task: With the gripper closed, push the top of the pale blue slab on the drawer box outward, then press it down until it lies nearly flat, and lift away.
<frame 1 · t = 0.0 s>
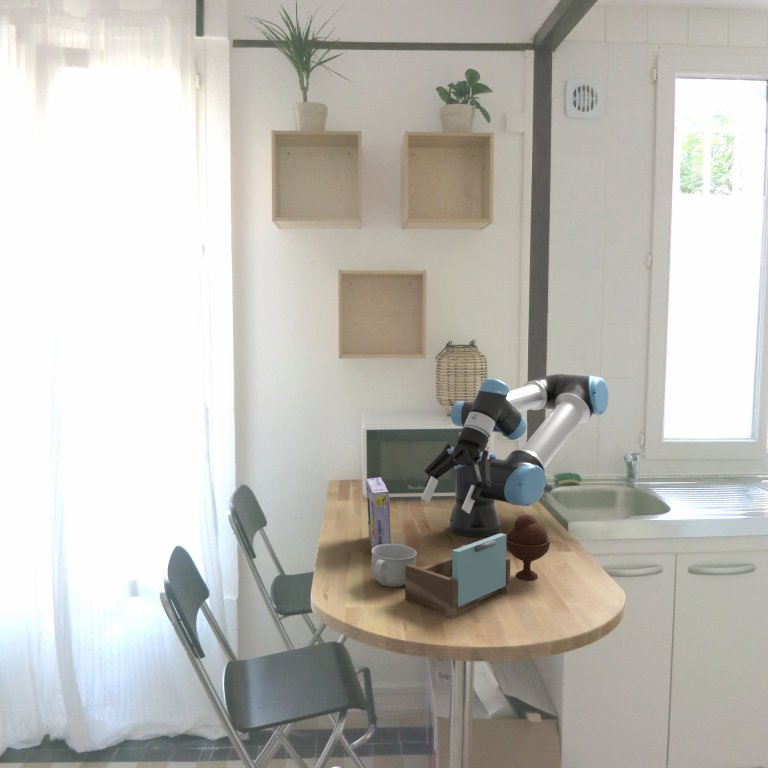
hand: (444, 506, 182), 15 cm above the counter, tool tilted 35°, fingers open, 13 cm apart
drawer box: (454, 594, 164), on the counter
cake pan box: (378, 547, 198), on the counter
pale blue slab: (482, 569, 157), point 8 cm above the counter, hinge at 0.0°
teacup: (390, 585, 170), on the counter
ice cream bowl: (526, 577, 174), on the counter
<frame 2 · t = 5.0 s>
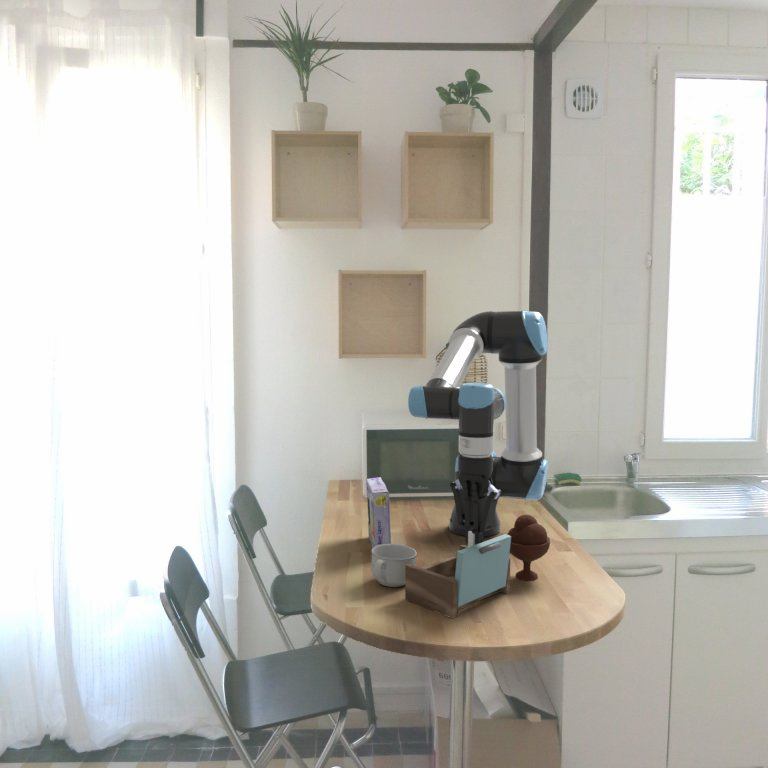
hand: (474, 559, 158), 10 cm above the counter, tool pointing down, fingers closed
pale blue slab: (484, 570, 157), point 8 cm above the counter, hinge at 6.5°, touching gripper
everything else where it was.
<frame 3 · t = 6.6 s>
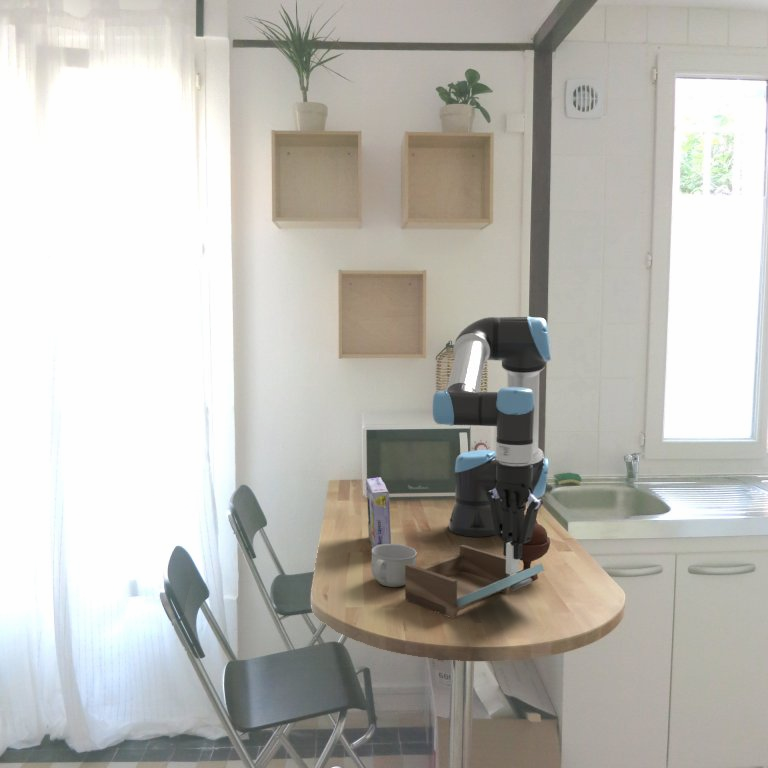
hand: (512, 572, 151), 10 cm above the counter, tool pointing down, fingers closed
pale blue slab: (501, 587, 154), point 5 cm above the counter, hinge at 58.1°, touching gripper
everything else where it was.
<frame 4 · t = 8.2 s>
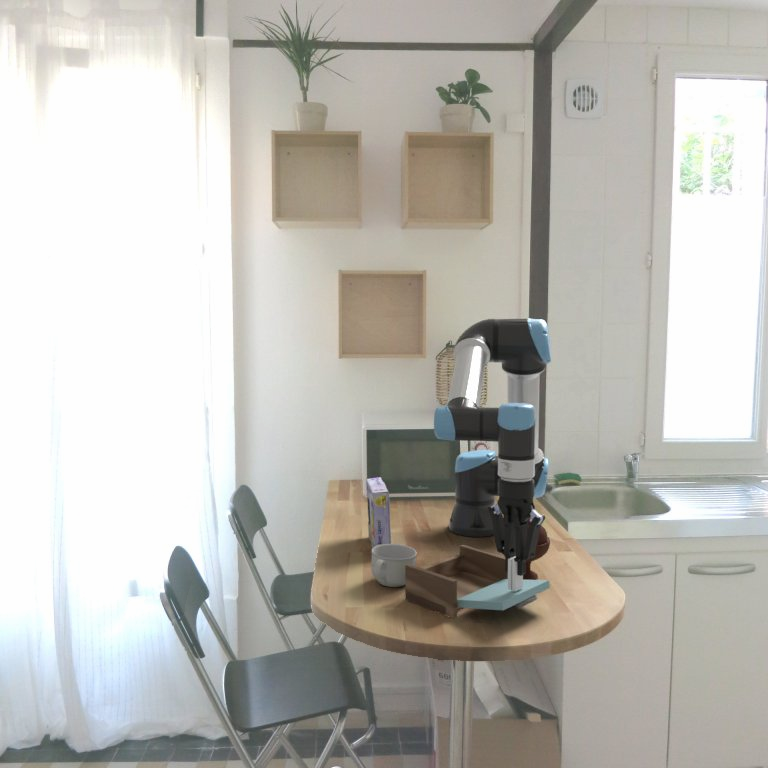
hand: (515, 588, 151), 6 cm above the counter, tool pointing down, fingers closed
pale blue slab: (504, 596, 153), point 4 cm above the counter, hinge at 76.4°, touching gripper
everything else where it was.
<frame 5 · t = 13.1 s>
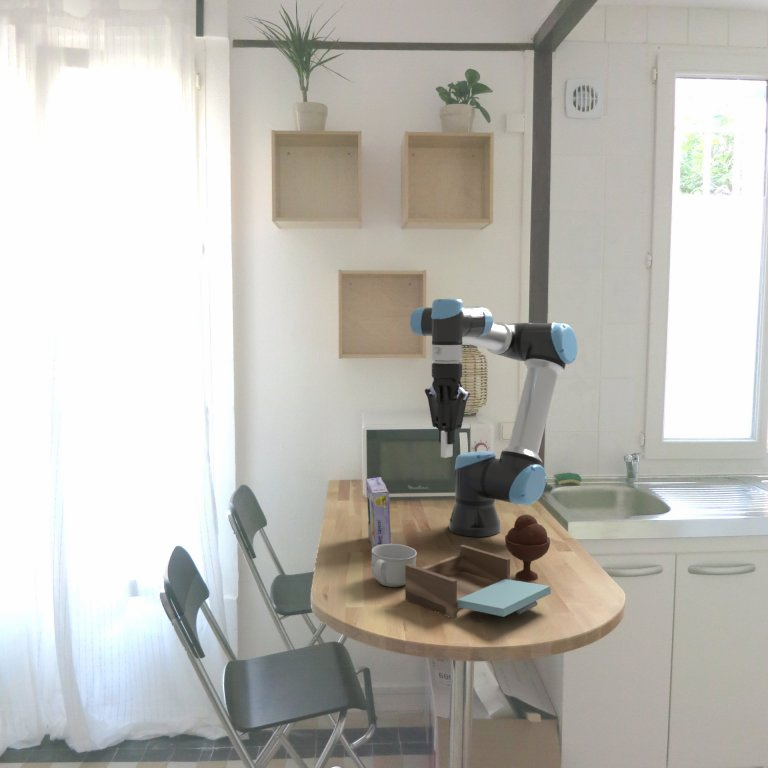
hand: (446, 456, 178), 28 cm above the counter, tool pointing down, fingers closed
pale blue slab: (505, 599, 153), point 3 cm above the counter, hinge at 82.3°
everything else where it was.
at the end: pale blue slab at +82° (first picture: +0°) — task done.
